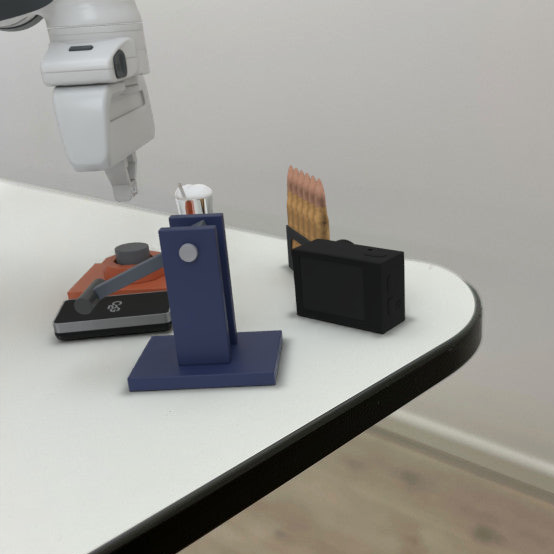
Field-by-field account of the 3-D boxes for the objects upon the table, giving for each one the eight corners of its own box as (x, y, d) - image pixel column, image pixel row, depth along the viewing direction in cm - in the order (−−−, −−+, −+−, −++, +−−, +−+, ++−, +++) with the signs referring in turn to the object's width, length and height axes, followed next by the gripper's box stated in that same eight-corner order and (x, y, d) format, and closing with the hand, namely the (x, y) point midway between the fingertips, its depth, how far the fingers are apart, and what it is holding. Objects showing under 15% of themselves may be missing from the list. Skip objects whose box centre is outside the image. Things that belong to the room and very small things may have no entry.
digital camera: (413, 315, 76) (412, 247, 73) (383, 334, 72) (381, 262, 69) (328, 298, 81) (324, 234, 78) (296, 315, 77) (291, 247, 74)
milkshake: (173, 263, 95) (161, 182, 90) (194, 251, 99) (184, 173, 95) (206, 265, 93) (195, 183, 89) (226, 253, 98) (217, 174, 94)
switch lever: (84, 322, 62) (66, 297, 61) (101, 301, 67) (85, 277, 66) (212, 257, 60) (196, 230, 59) (221, 239, 65) (206, 214, 64)
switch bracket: (129, 391, 63) (101, 239, 57) (153, 347, 71) (130, 211, 66) (275, 385, 63) (260, 232, 58) (282, 341, 71) (270, 204, 66)
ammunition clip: (288, 266, 92) (280, 164, 87) (302, 263, 93) (295, 163, 88) (320, 292, 83) (313, 181, 78) (336, 289, 84) (330, 179, 79)
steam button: (113, 268, 82) (110, 252, 81) (121, 258, 85) (119, 242, 84) (146, 266, 82) (144, 250, 81) (154, 256, 85) (151, 241, 84)
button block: (71, 312, 80) (63, 275, 79) (98, 281, 90) (91, 248, 88) (185, 306, 81) (179, 270, 79) (200, 276, 90) (196, 243, 88)
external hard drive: (68, 318, 79) (64, 299, 78) (177, 307, 80) (174, 289, 80) (55, 344, 73) (51, 324, 72) (174, 332, 74) (171, 313, 73)
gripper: (99, 54, 84) (122, 180, 90) (31, 67, 66) (66, 225, 72) (156, 50, 84) (176, 176, 90) (105, 63, 66) (133, 221, 72)
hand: (127, 198), depth 81 cm, fingers closed
